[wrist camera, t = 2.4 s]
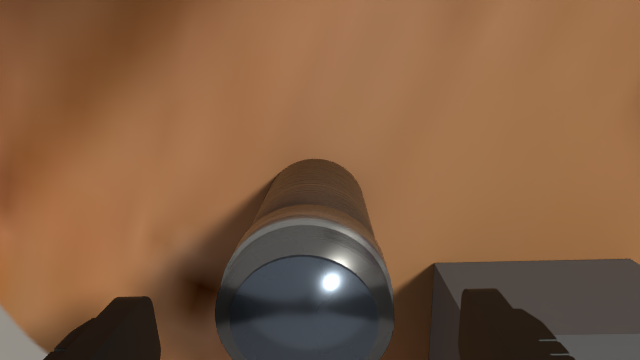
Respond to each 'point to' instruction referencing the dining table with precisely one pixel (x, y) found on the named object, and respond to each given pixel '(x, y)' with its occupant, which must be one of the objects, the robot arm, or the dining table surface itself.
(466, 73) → the dining table surface
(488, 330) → the robot arm
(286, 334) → the lens
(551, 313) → the camera body
